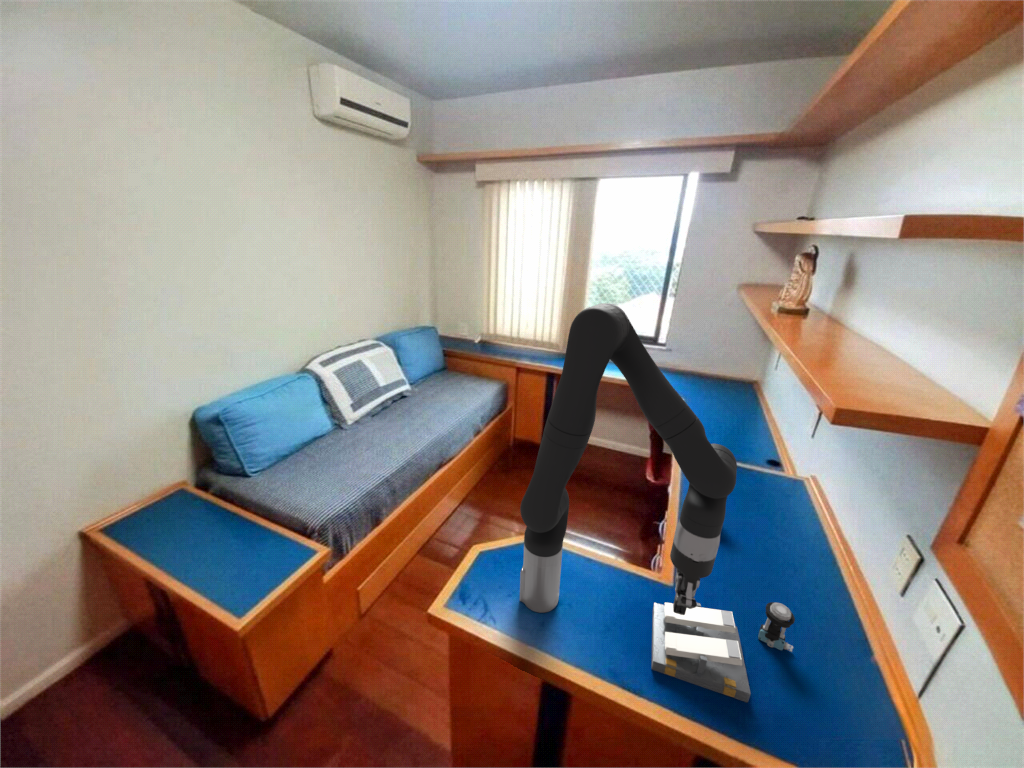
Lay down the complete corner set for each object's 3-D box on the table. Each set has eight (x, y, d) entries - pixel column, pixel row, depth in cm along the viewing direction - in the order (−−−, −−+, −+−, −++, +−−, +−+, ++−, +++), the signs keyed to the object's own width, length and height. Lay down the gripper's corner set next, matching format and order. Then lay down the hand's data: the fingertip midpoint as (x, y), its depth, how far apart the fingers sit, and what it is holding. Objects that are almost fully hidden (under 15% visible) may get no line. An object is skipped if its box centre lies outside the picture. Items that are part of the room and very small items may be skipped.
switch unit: (651, 670, 81) (656, 647, 79) (652, 610, 94) (656, 589, 92) (747, 703, 75) (756, 680, 73) (734, 634, 89) (741, 613, 86)
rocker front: (666, 654, 81) (665, 647, 80) (665, 637, 84) (664, 631, 84) (742, 665, 75) (741, 658, 75) (738, 647, 79) (737, 640, 78)
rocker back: (665, 622, 87) (664, 616, 87) (665, 607, 91) (664, 601, 90) (735, 633, 82) (735, 626, 82) (732, 617, 86) (732, 611, 85)
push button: (792, 643, 87) (804, 611, 84) (790, 662, 83) (803, 629, 80) (758, 626, 91) (768, 594, 87) (755, 643, 87) (765, 611, 83)
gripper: (672, 517, 80) (659, 580, 86) (675, 564, 68) (659, 633, 74) (712, 526, 77) (695, 591, 83) (721, 576, 66) (701, 647, 72)
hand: (678, 611), depth 79 cm, fingers closed
